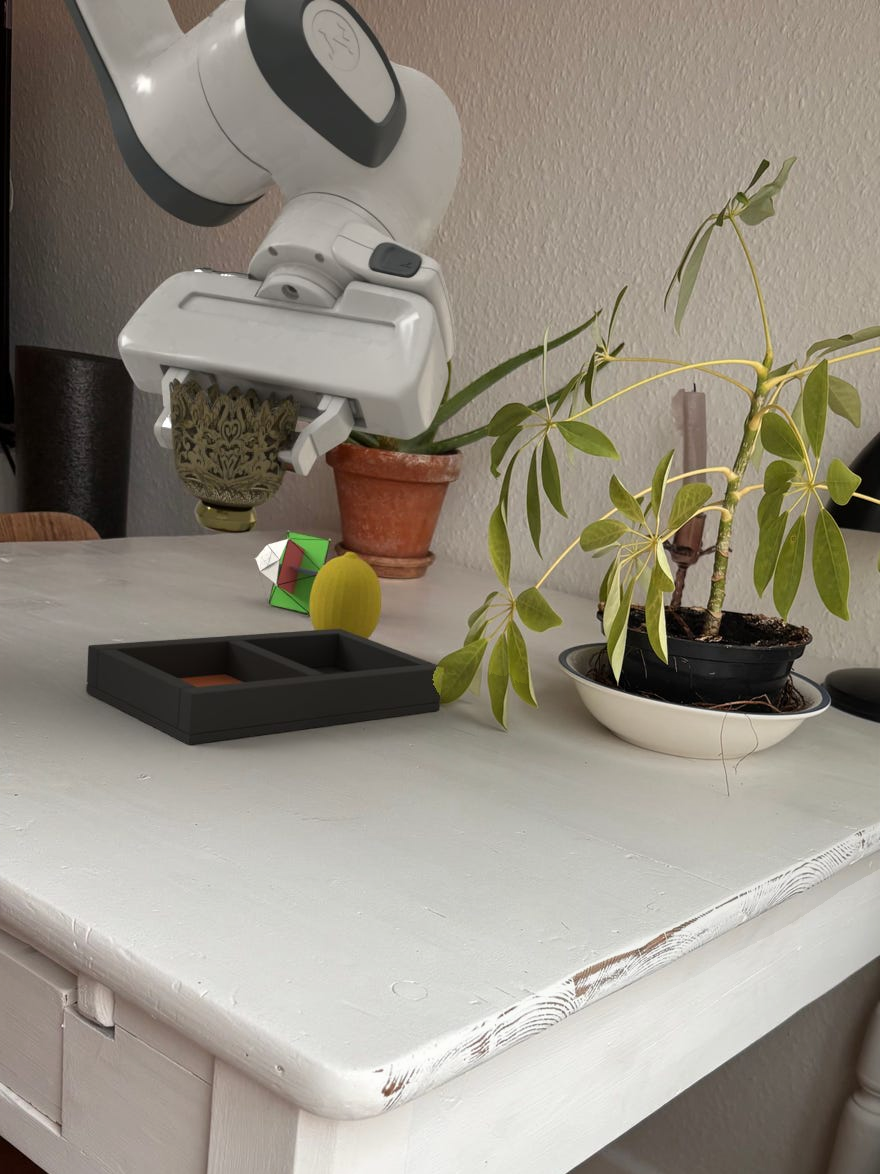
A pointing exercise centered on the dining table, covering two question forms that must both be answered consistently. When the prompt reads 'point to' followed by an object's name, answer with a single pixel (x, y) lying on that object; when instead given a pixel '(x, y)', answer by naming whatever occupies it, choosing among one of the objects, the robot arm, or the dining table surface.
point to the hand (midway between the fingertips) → (228, 454)
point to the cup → (228, 451)
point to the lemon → (346, 596)
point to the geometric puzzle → (293, 569)
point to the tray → (259, 682)
